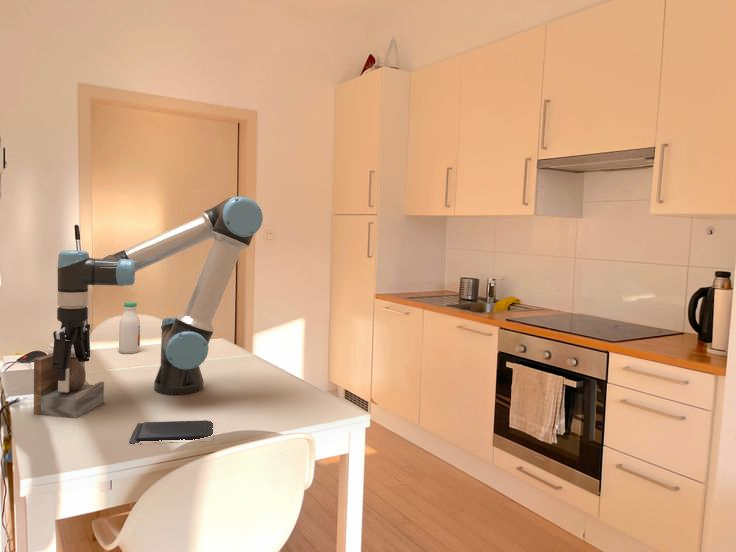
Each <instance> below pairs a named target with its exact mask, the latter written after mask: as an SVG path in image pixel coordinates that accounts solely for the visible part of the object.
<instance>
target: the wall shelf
mask: <svg viewBox="0 0 736 552" xmlns="http://www.w3.org/2000/svg"><path fill="white" fill-rule="evenodd" d="M70 357H71V353H70ZM70 357H69V358H70ZM52 361H53V353H51V354H45V355H43V356H40V357H37V358H34V359H33V415H41V416H50V417H51V416H52V417H62V418H63V417H65V418H72V419H73V418H75V419H76V418H79V417H81V416H83V415H84V414H86V413H88V412H89V411H91V410H93V409H95V408H97V407H98V406H101V405H102V404H104V397H105V396H104V392H105V389H104V388H105V382H104V381H98V382H97V383H95V384H86V383H85V384H84V385H83V386H82V387H81V388H80V389H78V390H74V391H69V392H58V369H56V368H53V367H52Z"/></svg>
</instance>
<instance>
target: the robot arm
mask: <svg viewBox="0 0 736 552" xmlns="http://www.w3.org/2000/svg"><path fill="white" fill-rule="evenodd" d="M201 213H202V214H201V215H200V216H199V217H197V218H194V219H191V220H189V221H187V222H185V223H182V224H180V225H178V226H175V227H173V228H172V229H169V230H166V231H164V232H162V233H160V234H158V235H154V236H153V237H152V236H151V237H150V238H147V239H146V240H143V241H141V242H139V243H136V244H134V245H132V246H130V247H127V248H125V249H123V250H121V251H118V252H116V253H113V254H109V255H107V256H105V257H103V258H92V257H90V256H89V251H87V250H74V249H73V250H71V249H69V250H68V249H67V250H62V251H60V252H59V253H58V257H57V259H58V260H57V305H58V307H57V308H56V312H57V313H56V319H57V321H58V322H60V323H61V325H60V328H59V329H60V330H58V331H56V330H55V331H53V333H52V335H53V342H54V348H53V361H52V367H53V368H56V369H58V392H69V368H67V367H68V362H69V357H70V353H71V348H72V345H73V346H74V351H75V355H76V358H77V359H78V361H79V362H80V363H81V364H82V366H83V367H84V369H85V370H86V362H89V361H90V357H91V343H90V342H91V341H90V331H91V324H89V323H84V322H86V321H87V320H88V318H89V315H88V314H89V308H88V307H87V306H88V305H89V286H118V287H123V286H132V285H133V286H134V284H135V280H136V279H135V278H136V272H138V271H140V270H142V269H145V268H148V267H150V266H152V265H154V264H156V263H158V262H160V261H162V260H166V259H167V258H170V257H172V256H175V255H176V254H179V253H182V252H184V251H186V250H188V249H190V248H193V247H195V246H197V245H199V244H201V243H204V242H206V241H209V240H211V239H213V243H212V245H211V246H210V247H211V248H210V249H209V252H208V255H207V256H206V259H205V261H204V264H203V266H202V268H201V270H200V274H199V276H198V278H197V281H196V283H195V286H194V287H193V290H192V292H191V294H190V298H189V299H188V302H187V304H186V307H185V308H184V312H183V313H181V314H179V315H177V316H176V317H165V318H163V319H162V321H161V326H160V329H161V340H160V341H161V344H160V346H161V347H160V351H161V352H160V366H159V369H158V371H157V374H156V376H155V380H154V382H153V383H154V384H153V389H154V391H155V392H157V393H160V394H164V395H187V394H193V393H197V392H199V390H200V391H201V389H202V390H203V389H204V383H205V382H204V381H205V380H204V377H203V375H202V371H201V368H200V366H201V365H202V364H203V363H204V362H205V361H206V359H207V356H208V354H209V343H210V341H211V338H212V336H213V334H214V331H215V329H214V327H213V325H212V323H213V320H214V318H215V315H216V313H217V311H218V308H219V305H220V303H221V301H222V298H223V296H224V294H225V292H226V288H227V287H228V284H229V282H230V279H231V277H232V274H233V272H234V270H235V267H236V265H237V263H238V260H239V258H240V255H241V254H242V251H243V250H245V249H247V248H249V247H250V244H251V242H252V240H253V237H254V235H255V234H256V233H258V231H259V230H260V229H261V227H262V226H263V225H262V224H263V219H264V217H263V216H264V215H263V211H262V209H261V207H260V206H259V204H258V203H257V202H256V201H255V200H253V199H251V198H250V197H246V196H239V195H238V196H234V197H229V198H227V199H225V200H222V201H221V202H220V203H218V204H216V205H215V206H213V207H211V208H209V209H207V210H205V211H202V212H201ZM84 384H86V381H85V382H84ZM84 384H83V385H84Z"/></svg>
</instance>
